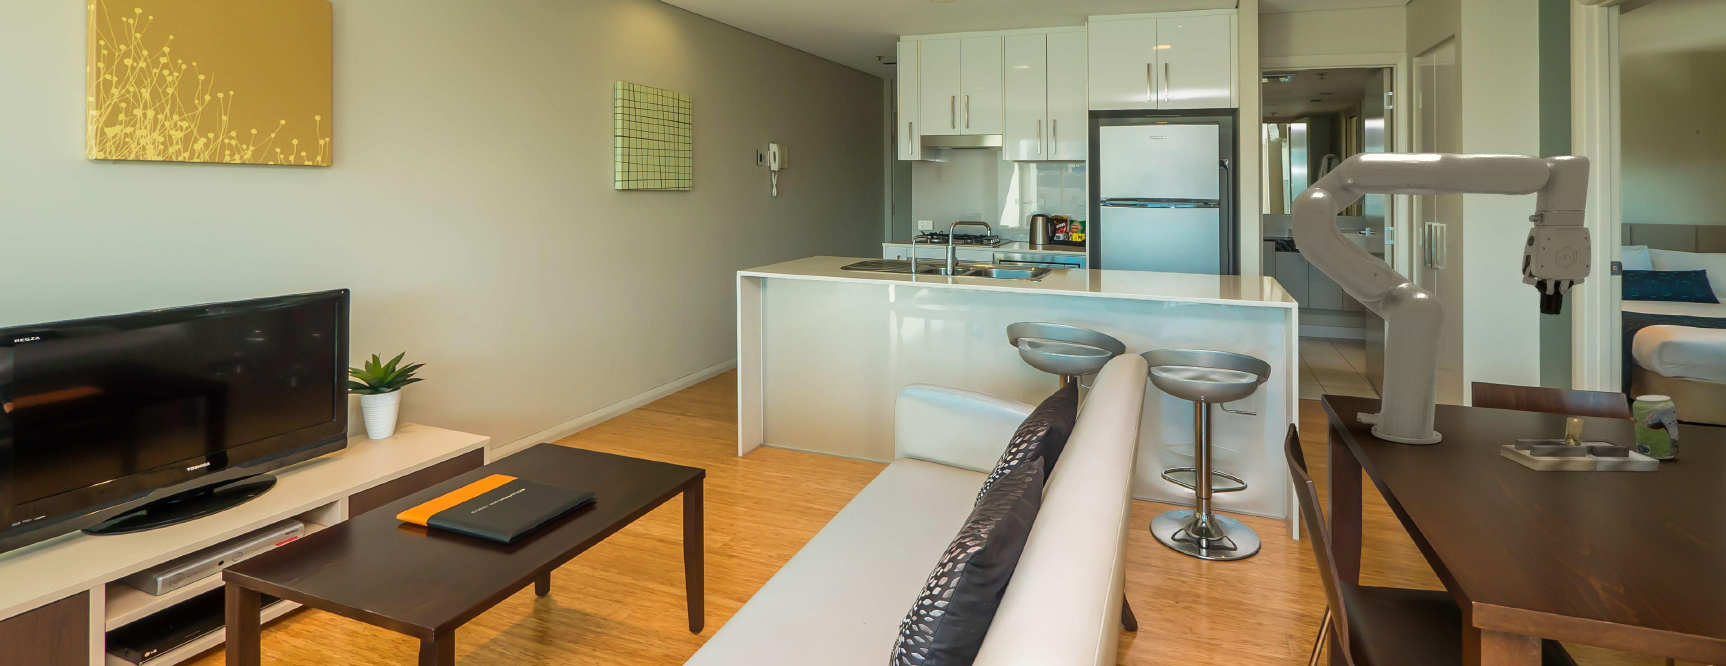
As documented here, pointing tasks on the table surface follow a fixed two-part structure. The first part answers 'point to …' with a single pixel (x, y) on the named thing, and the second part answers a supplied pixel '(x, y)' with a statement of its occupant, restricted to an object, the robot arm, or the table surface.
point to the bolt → (1578, 436)
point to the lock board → (1576, 456)
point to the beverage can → (1656, 426)
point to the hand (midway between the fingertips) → (1550, 313)
